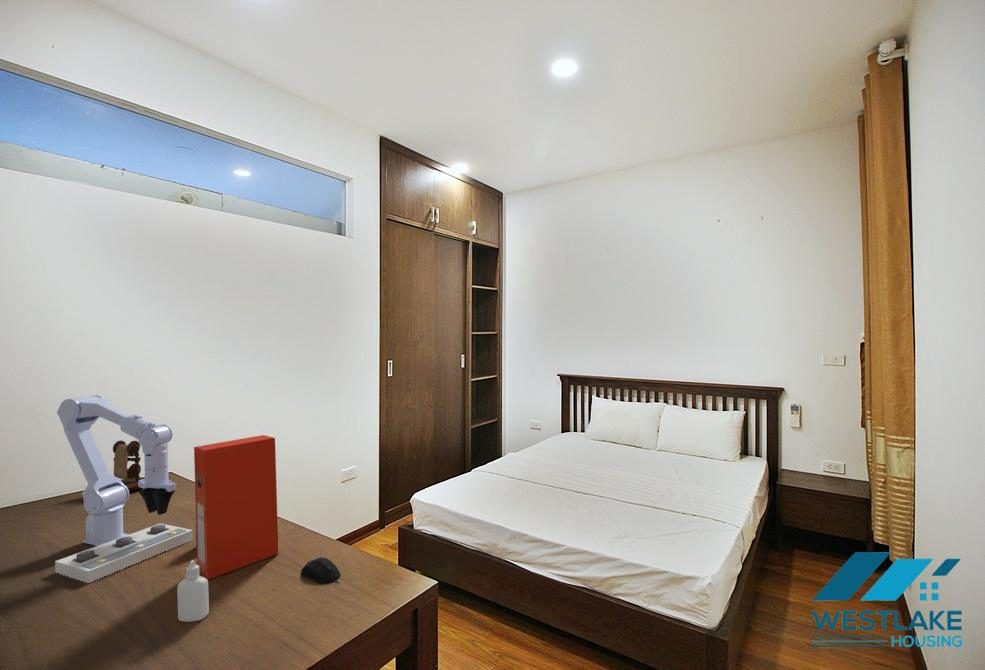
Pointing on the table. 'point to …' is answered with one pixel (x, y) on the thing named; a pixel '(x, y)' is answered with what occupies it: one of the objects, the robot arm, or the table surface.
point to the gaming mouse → (321, 571)
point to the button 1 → (85, 556)
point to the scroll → (120, 463)
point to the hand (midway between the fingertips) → (157, 512)
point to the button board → (123, 553)
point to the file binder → (235, 504)
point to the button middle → (123, 542)
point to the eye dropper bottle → (193, 595)
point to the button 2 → (157, 529)
